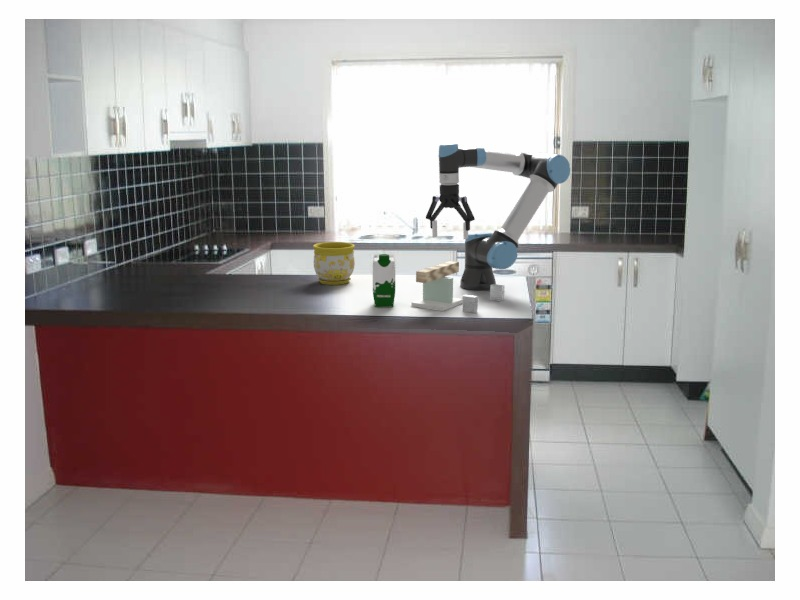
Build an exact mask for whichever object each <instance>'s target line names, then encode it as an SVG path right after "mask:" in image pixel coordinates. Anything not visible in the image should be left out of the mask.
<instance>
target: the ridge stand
mask: <svg viewBox="0 0 800 600" xmlns="http://www.w3.org/2000/svg"><path fill="white" fill-rule="evenodd" d="M461 304H462V305H463V298H459V297H454V277H449V276H445V277H442V278H439V279H436V280H433V281H430V282H427V283H422V298H420V299H418V300H414V301H412V302H411V307H413V306H414V307H415V308H421V309H427V310H435V311H440V312H445V311H447V310H449V309H451V308H454V307H457V306H459V305H461ZM414 307H413V308H414Z"/></svg>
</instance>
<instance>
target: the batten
mask: <svg viewBox="0 0 800 600" xmlns="http://www.w3.org/2000/svg"><path fill="white" fill-rule="evenodd" d="M459 267H460V262H459V261H454V260H449V261H446V262H442V263H439V264H436V265H433V266H429V267H425V268H423V269H420V270H417V271H416V272H415V282H416V283H420V284H421V283H422V284H423V283H427V282H430V281H433V280H436V279H439V278H442V277H449V276H451V275H454V274H456V273H457V274H458V273H459V270H460V268H459Z"/></svg>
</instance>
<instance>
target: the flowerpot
mask: <svg viewBox="0 0 800 600" xmlns="http://www.w3.org/2000/svg"><path fill="white" fill-rule="evenodd" d="M355 247H356V245H355V244H353V243H351V242H347V241H346V242H343V241H327V242H326V241H325V242H317V243H315V244H313V245H312V249H314V251H313V253H314V256H313V269H314V272H315V274H316V275H317V277H318V278H317V280H318V281H319V283H320V284H321V285H322V284H323V285H326V286H341V285H347V284H348V283H349V282H350V281H351V279H352V278H351V276H352V275H353V272H354V269H355V265H356V264H355V262H356V261H355V255H354V253H355V250H354V249H355Z"/></svg>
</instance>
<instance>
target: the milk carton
mask: <svg viewBox="0 0 800 600" xmlns="http://www.w3.org/2000/svg"><path fill="white" fill-rule="evenodd" d="M372 297H373V302H374V307H375V308H394V304H395V297H396V261H395V258H394V257H390V254H389V253H384V254H383V253H382V254H381V253H380V254H378V257H374V258H373V262H372Z"/></svg>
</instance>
